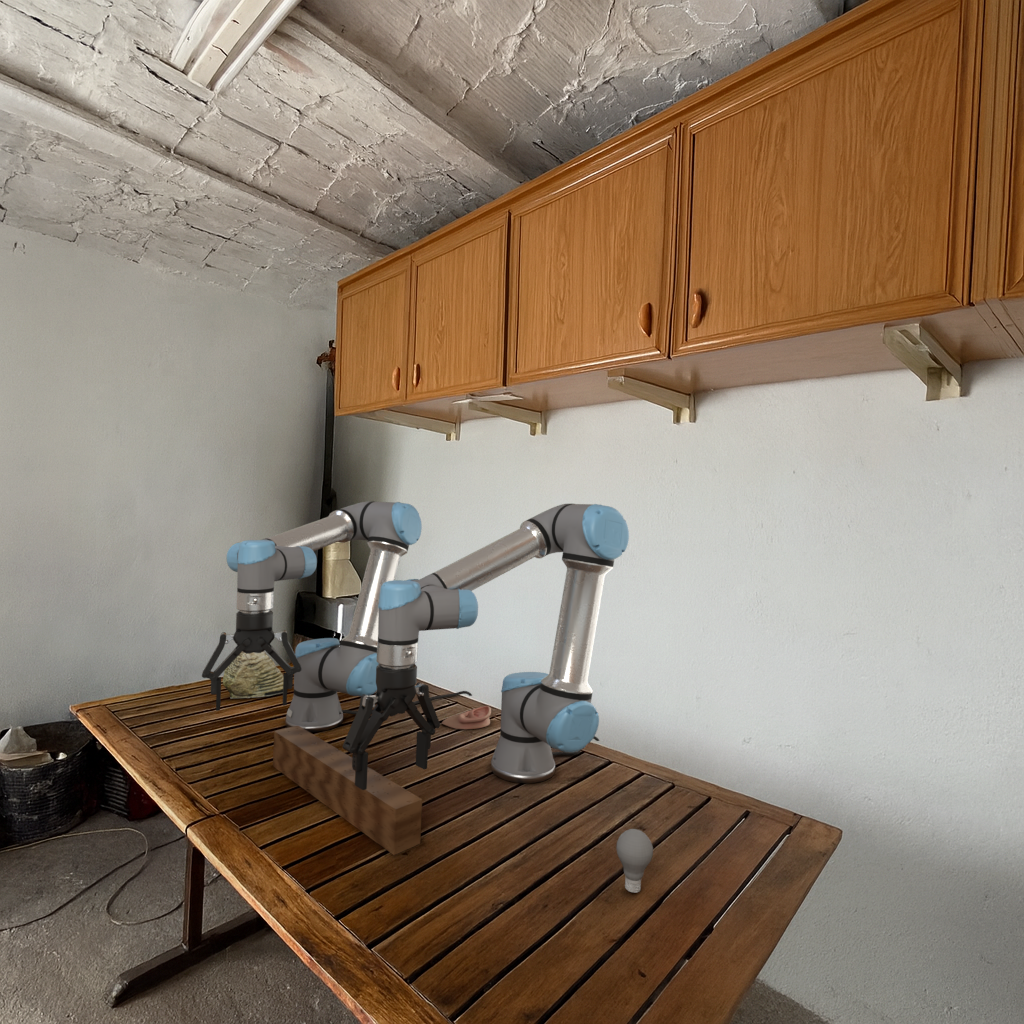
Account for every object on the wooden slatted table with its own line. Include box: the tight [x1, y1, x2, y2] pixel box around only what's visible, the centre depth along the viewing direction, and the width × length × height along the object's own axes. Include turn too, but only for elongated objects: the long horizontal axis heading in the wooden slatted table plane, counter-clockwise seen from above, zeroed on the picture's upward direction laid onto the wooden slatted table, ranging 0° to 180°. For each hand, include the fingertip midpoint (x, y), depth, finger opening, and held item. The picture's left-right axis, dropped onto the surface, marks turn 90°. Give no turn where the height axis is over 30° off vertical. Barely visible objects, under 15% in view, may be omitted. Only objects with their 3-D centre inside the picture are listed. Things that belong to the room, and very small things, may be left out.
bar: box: [272, 726, 423, 856], centre depth 132 cm, size 49×6×8 cm, turn 45°
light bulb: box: [615, 828, 654, 894], centre depth 106 cm, size 6×6×10 cm
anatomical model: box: [441, 705, 492, 730], centre depth 181 cm, size 13×4×12 cm
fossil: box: [222, 651, 284, 699], centre depth 198 cm, size 9×18×15 cm, turn 132°
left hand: (252, 706), depth 140 cm, fingers open, 13 cm apart
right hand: (392, 776), depth 119 cm, fingers open, 13 cm apart
